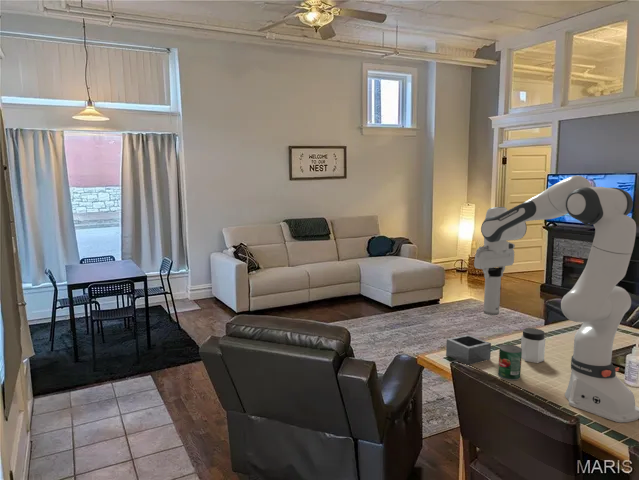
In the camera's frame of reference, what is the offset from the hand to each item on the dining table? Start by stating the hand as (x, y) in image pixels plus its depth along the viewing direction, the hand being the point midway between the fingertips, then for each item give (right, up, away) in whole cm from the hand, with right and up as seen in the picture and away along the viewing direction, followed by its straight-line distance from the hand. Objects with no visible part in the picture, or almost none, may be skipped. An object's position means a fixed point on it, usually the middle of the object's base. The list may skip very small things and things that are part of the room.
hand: (493, 277), depth 199 cm
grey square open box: (-12, -33, -3) cm, 35 cm away
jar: (+14, -34, -5) cm, 37 cm away
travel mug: (0, -16, +2) cm, 16 cm away
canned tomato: (-2, -36, -21) cm, 42 cm away
